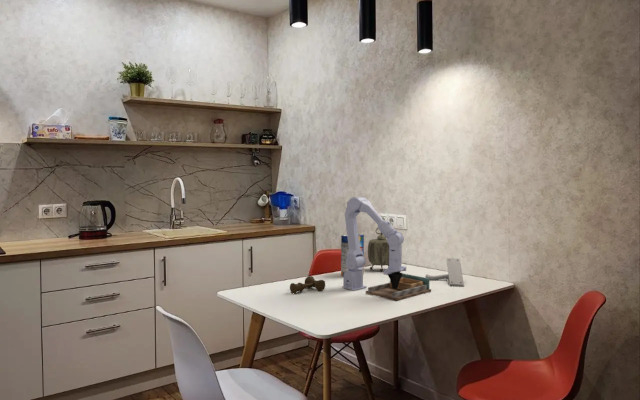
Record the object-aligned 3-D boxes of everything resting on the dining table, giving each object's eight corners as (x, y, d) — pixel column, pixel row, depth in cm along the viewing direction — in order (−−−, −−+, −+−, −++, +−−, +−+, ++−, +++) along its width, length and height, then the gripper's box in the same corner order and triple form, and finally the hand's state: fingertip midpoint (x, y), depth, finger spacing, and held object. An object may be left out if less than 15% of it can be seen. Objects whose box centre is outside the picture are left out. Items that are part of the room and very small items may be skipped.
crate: (410, 291, 219) (410, 284, 219) (390, 287, 228) (390, 280, 228) (423, 288, 226) (423, 281, 226) (402, 283, 235) (403, 277, 234)
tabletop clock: (392, 269, 279) (392, 226, 278) (395, 272, 270) (396, 228, 269) (367, 269, 278) (367, 226, 277) (370, 272, 269) (370, 228, 268)
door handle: (462, 296, 239) (458, 270, 256) (463, 284, 235) (459, 258, 252) (426, 294, 242) (424, 268, 259) (427, 282, 238) (425, 256, 254)
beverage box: (340, 275, 260) (341, 235, 258) (354, 273, 267) (354, 233, 266) (350, 277, 255) (350, 236, 254) (363, 274, 262) (364, 234, 261)
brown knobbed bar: (286, 293, 223) (318, 285, 236) (298, 297, 216) (331, 289, 229) (285, 280, 222) (318, 273, 235) (298, 284, 215) (331, 277, 228)
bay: (396, 300, 207) (396, 287, 207) (365, 293, 221) (365, 280, 220) (431, 291, 225) (431, 278, 225) (400, 284, 238) (400, 273, 238)
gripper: (392, 262, 212) (391, 292, 213) (411, 258, 222) (411, 287, 223) (380, 259, 217) (379, 289, 218) (399, 256, 227) (399, 284, 228)
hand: (394, 288), depth 221 cm, fingers closed
